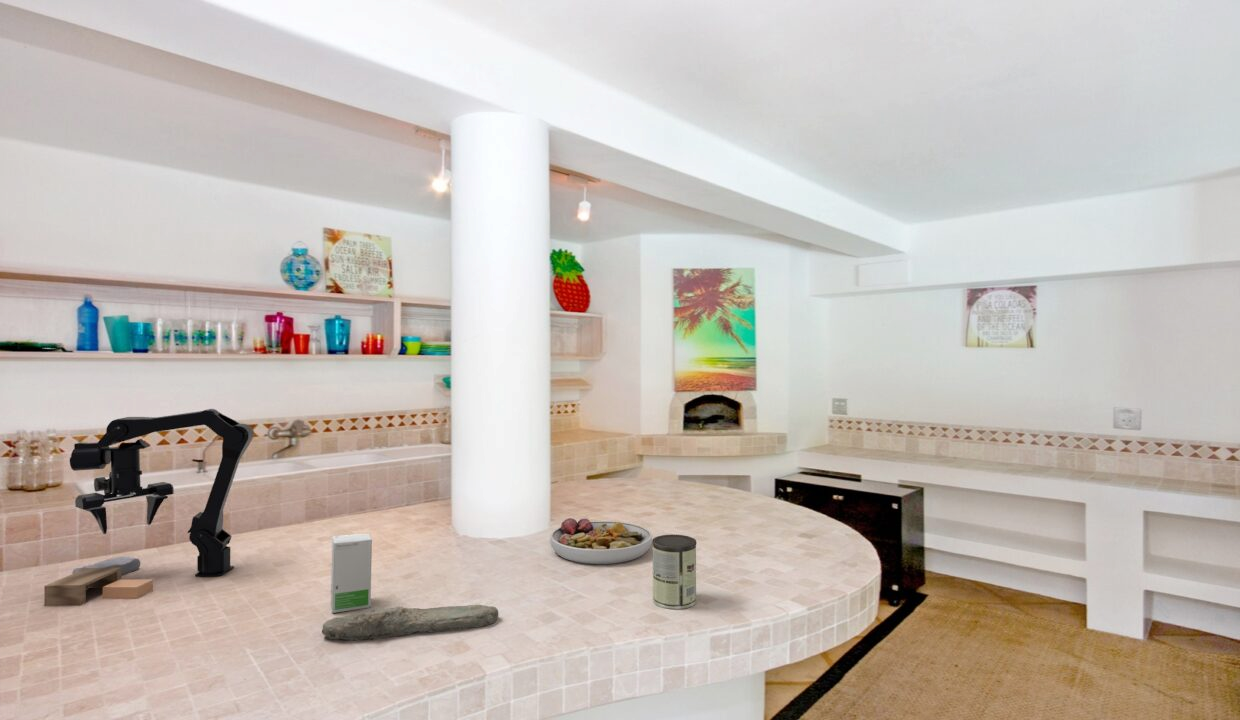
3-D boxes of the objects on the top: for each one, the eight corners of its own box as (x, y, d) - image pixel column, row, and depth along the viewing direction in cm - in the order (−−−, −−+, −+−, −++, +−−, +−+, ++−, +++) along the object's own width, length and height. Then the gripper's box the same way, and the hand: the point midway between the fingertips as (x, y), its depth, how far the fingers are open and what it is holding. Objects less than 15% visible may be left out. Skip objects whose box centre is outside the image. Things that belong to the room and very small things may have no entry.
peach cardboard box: (152, 592, 149) (153, 579, 149) (136, 600, 144) (136, 587, 144) (120, 591, 149) (120, 579, 149) (102, 599, 144) (102, 586, 144)
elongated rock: (499, 637, 128) (496, 620, 137) (500, 611, 128) (498, 596, 138) (315, 646, 119) (327, 627, 129) (317, 618, 120) (328, 602, 129)
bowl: (670, 546, 186) (670, 520, 186) (616, 575, 161) (616, 545, 161) (589, 531, 202) (589, 507, 202) (528, 556, 177) (528, 528, 177)
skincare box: (331, 614, 135) (331, 543, 135) (330, 603, 141) (330, 536, 141) (372, 607, 139) (372, 538, 139) (369, 597, 145) (369, 531, 145)
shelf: (121, 585, 152) (121, 567, 152) (81, 604, 140) (81, 585, 140) (87, 586, 152) (87, 567, 152) (44, 605, 140) (44, 585, 140)
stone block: (66, 589, 155) (98, 584, 153) (64, 570, 155) (96, 564, 153) (114, 575, 166) (144, 570, 164) (112, 557, 167) (142, 552, 165)
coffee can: (658, 590, 150) (658, 532, 150) (700, 595, 146) (700, 536, 146) (646, 606, 140) (646, 544, 140) (691, 612, 137) (691, 549, 137)
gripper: (155, 459, 167) (157, 516, 167) (66, 470, 151) (68, 534, 152) (173, 462, 161) (175, 521, 161) (82, 474, 145) (84, 540, 146)
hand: (127, 529), depth 155 cm, fingers open, 9 cm apart
